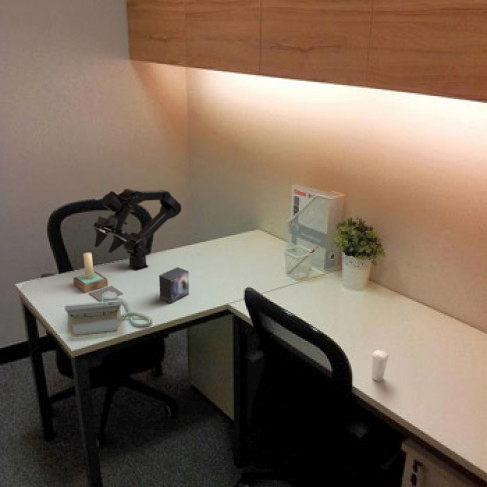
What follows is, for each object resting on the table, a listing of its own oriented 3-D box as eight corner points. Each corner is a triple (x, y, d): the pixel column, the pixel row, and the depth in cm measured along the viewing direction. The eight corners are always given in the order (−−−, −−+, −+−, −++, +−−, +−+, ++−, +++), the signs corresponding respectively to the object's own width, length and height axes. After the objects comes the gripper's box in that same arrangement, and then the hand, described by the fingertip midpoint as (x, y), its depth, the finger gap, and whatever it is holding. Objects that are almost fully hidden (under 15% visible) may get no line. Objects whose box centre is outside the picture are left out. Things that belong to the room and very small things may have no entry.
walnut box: (96, 278, 229) (95, 271, 228) (107, 286, 222) (107, 278, 221) (73, 285, 223) (72, 277, 222) (85, 293, 216) (84, 285, 215)
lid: (94, 274, 227) (92, 248, 223) (103, 280, 221) (101, 254, 217) (76, 279, 222) (73, 253, 218) (85, 286, 216) (82, 259, 212)
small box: (171, 304, 208) (170, 279, 204) (159, 299, 211) (157, 275, 208) (190, 294, 216) (189, 270, 212) (178, 290, 219) (177, 266, 215)
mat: (111, 286, 222) (111, 285, 222) (123, 294, 215) (123, 293, 215) (89, 293, 216) (89, 292, 215) (100, 301, 209) (100, 300, 209)
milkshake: (380, 386, 160) (383, 357, 157) (366, 377, 165) (369, 348, 161) (390, 380, 163) (394, 352, 159) (376, 372, 167) (380, 344, 163)
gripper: (93, 203, 225) (75, 236, 222) (121, 212, 214) (103, 247, 211) (111, 215, 234) (94, 247, 231) (139, 224, 223) (121, 258, 220)
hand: (102, 249), depth 223 cm, fingers open, 9 cm apart
